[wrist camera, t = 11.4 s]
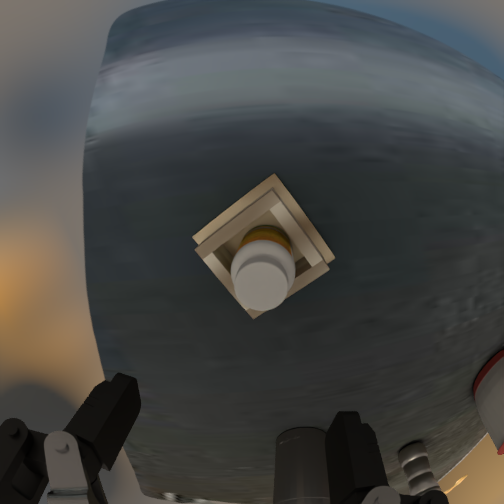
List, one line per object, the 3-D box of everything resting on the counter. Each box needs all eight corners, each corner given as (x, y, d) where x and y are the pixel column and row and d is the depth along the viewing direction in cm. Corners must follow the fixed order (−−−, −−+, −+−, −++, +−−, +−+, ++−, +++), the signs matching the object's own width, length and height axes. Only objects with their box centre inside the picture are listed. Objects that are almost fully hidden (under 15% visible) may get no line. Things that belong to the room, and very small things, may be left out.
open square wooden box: (333, 255, 30) (343, 271, 25) (255, 307, 32) (251, 330, 28) (274, 173, 28) (274, 174, 23) (194, 234, 30) (180, 247, 26)
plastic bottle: (400, 443, 40) (422, 516, 21) (427, 435, 40) (452, 504, 21) (392, 457, 42) (409, 525, 23) (417, 450, 41) (438, 514, 22)
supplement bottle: (233, 232, 29) (213, 263, 20) (283, 217, 28) (286, 242, 19) (249, 278, 30) (238, 326, 21) (297, 265, 29) (305, 309, 20)
